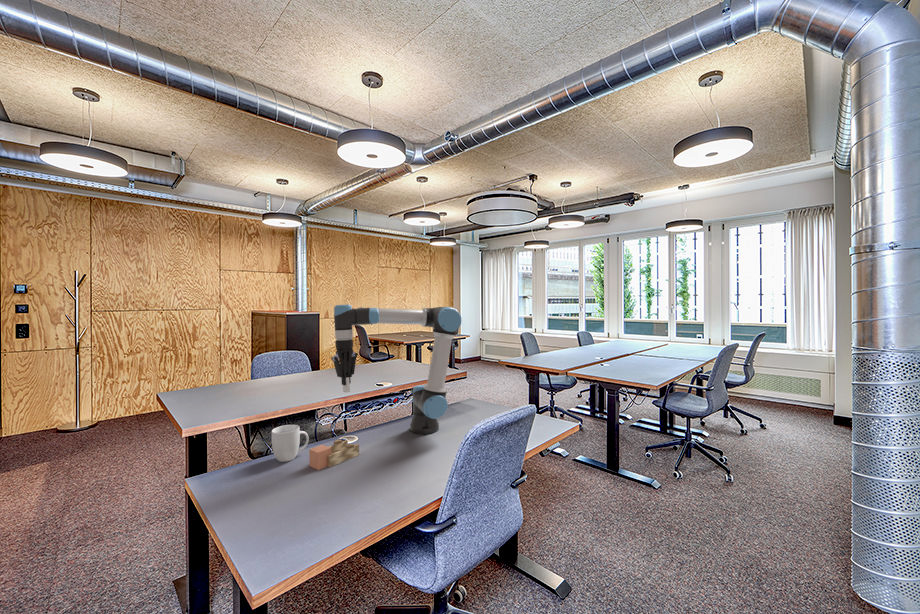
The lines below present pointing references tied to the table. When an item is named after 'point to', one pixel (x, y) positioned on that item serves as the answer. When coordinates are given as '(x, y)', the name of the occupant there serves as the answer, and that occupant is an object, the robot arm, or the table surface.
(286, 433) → the mug
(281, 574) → the table surface
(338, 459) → the tan boxy piece
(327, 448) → the block
